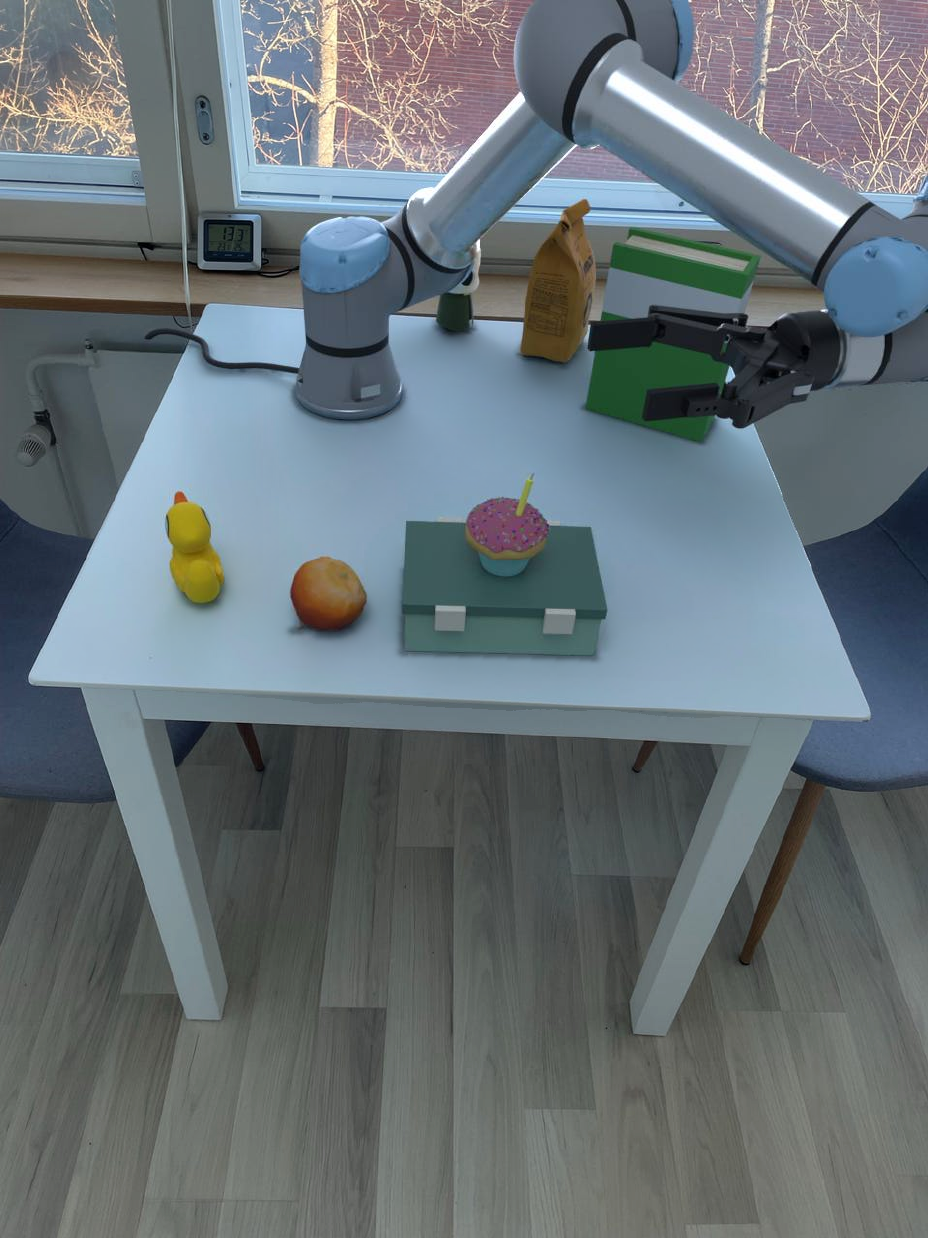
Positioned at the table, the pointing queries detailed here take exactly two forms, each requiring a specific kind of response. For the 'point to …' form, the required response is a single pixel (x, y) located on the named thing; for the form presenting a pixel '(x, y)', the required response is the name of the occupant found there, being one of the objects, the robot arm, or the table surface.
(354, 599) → the fruit
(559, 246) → the coffee package
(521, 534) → the cupcake
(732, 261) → the hardback book
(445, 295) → the character mug
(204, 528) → the duckling
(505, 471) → the table surface
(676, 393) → the robot arm
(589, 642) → the lunchbox
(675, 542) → the table surface
